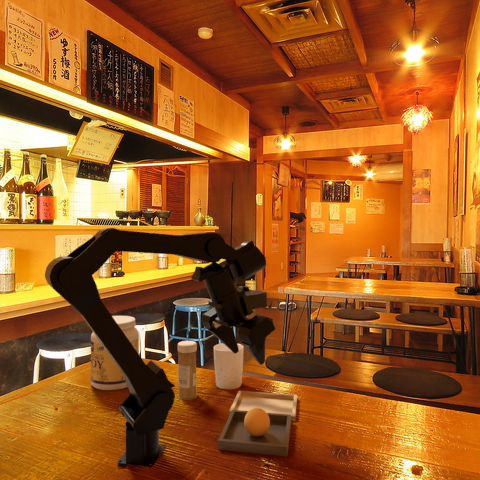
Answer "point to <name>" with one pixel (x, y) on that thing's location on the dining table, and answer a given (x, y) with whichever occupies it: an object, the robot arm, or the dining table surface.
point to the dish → (242, 441)
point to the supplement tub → (103, 365)
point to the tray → (266, 402)
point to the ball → (257, 422)
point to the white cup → (228, 366)
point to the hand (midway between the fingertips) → (248, 357)
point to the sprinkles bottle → (187, 370)
